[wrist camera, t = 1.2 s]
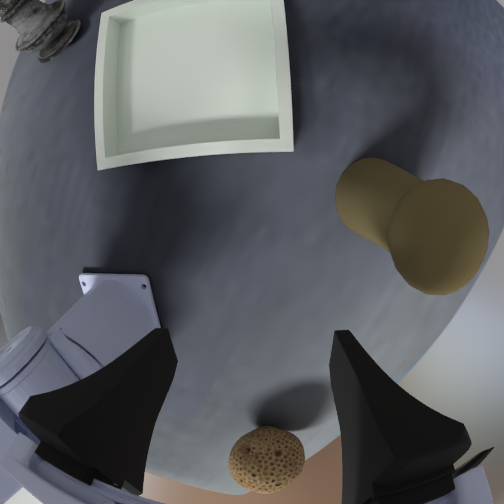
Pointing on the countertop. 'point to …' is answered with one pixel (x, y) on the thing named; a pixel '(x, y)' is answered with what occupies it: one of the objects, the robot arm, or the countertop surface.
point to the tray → (191, 80)
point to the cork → (416, 223)
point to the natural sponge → (266, 459)
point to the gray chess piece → (40, 26)
